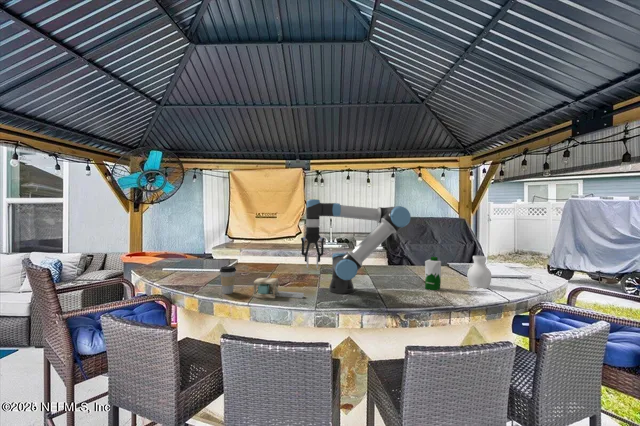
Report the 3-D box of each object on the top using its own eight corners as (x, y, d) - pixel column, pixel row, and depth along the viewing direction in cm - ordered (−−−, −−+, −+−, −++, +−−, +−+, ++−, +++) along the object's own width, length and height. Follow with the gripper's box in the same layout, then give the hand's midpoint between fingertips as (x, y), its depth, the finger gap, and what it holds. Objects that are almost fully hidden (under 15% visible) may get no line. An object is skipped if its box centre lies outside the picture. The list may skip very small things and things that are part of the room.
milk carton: (442, 288, 187) (442, 257, 187) (437, 291, 180) (437, 259, 180) (428, 286, 193) (428, 256, 193) (423, 288, 186) (423, 257, 186)
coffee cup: (231, 295, 167) (231, 269, 167) (216, 294, 169) (216, 268, 169) (238, 291, 177) (239, 266, 177) (224, 290, 178) (224, 265, 178)
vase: (488, 284, 199) (489, 255, 199) (494, 290, 185) (494, 258, 185) (465, 283, 203) (465, 254, 203) (469, 288, 190) (469, 257, 189)
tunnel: (278, 293, 172) (278, 278, 172) (274, 298, 163) (274, 282, 163) (258, 293, 173) (258, 277, 173) (253, 297, 164) (253, 281, 164)
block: (269, 294, 170) (269, 284, 170) (266, 297, 165) (266, 286, 165) (260, 294, 171) (260, 283, 171) (258, 296, 166) (258, 286, 166)
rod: (303, 297, 166) (303, 292, 166) (302, 298, 164) (302, 294, 164) (272, 295, 170) (272, 290, 170) (270, 296, 168) (270, 291, 168)
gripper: (329, 226, 169) (328, 266, 169) (298, 226, 170) (297, 266, 170) (328, 227, 161) (327, 269, 161) (296, 226, 163) (295, 268, 163)
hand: (312, 267), depth 166 cm, fingers open, 5 cm apart
